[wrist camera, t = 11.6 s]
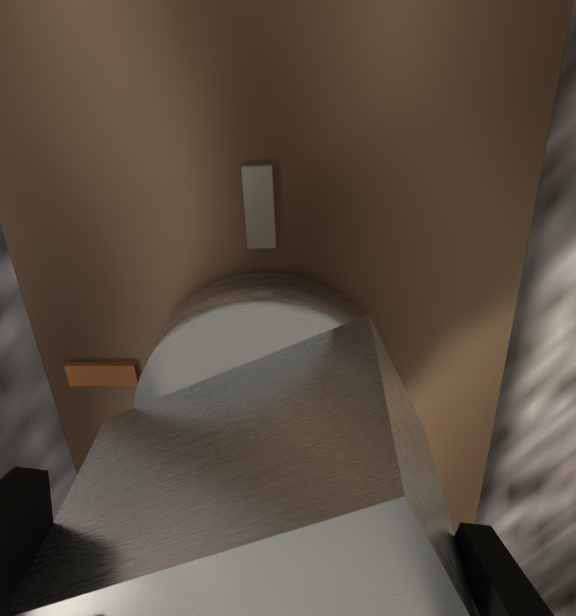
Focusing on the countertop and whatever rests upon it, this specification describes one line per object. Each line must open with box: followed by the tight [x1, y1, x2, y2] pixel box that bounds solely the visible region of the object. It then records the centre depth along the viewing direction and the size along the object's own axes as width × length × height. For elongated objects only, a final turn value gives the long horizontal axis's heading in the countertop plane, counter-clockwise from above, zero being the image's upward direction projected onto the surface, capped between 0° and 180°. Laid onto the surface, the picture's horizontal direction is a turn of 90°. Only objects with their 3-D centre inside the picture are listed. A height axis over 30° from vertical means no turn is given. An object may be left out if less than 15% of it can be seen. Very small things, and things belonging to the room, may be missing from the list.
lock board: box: [0, 0, 574, 536], centre depth 16 cm, size 13×20×2 cm, turn 2°
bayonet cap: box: [6, 272, 476, 616], centre depth 12 cm, size 6×7×7 cm
